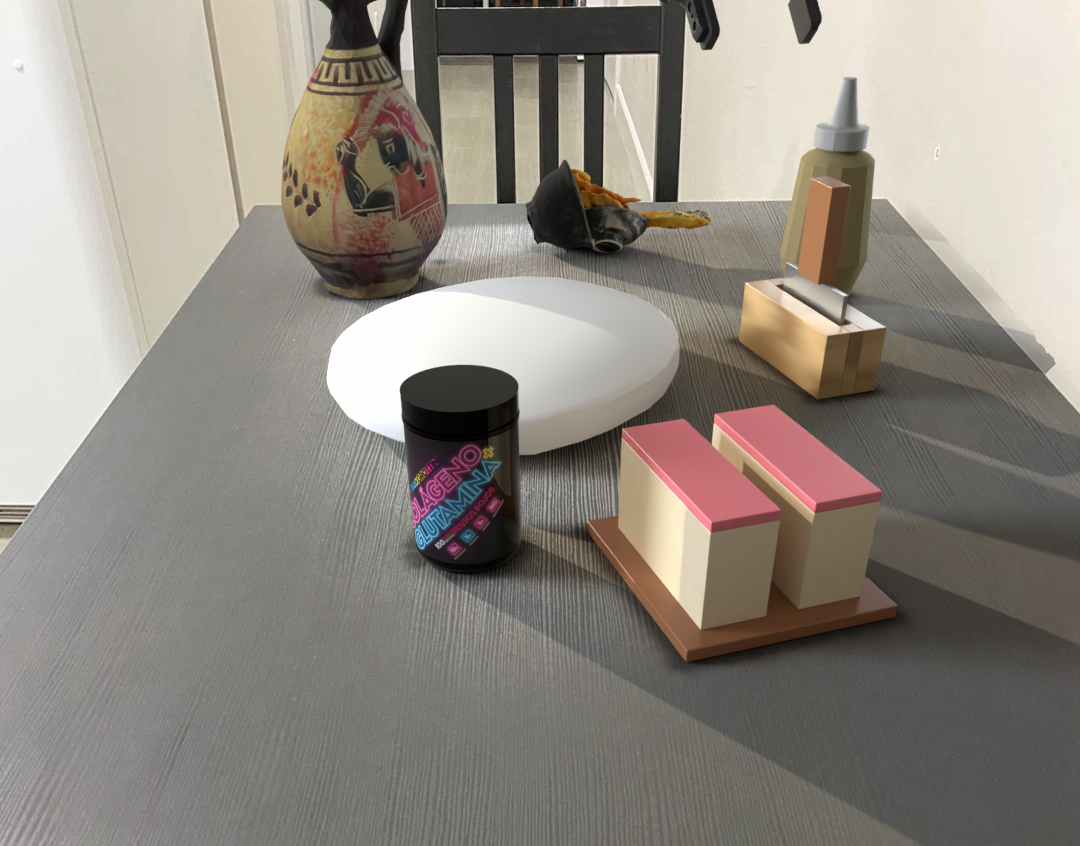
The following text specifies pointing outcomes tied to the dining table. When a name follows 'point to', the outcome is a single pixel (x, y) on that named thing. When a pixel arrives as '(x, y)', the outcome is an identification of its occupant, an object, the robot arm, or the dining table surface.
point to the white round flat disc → (514, 354)
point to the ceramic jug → (363, 162)
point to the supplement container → (463, 465)
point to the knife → (821, 250)
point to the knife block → (811, 341)
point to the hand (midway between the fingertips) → (761, 39)
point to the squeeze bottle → (844, 163)
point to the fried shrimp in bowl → (594, 214)
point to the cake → (742, 533)
